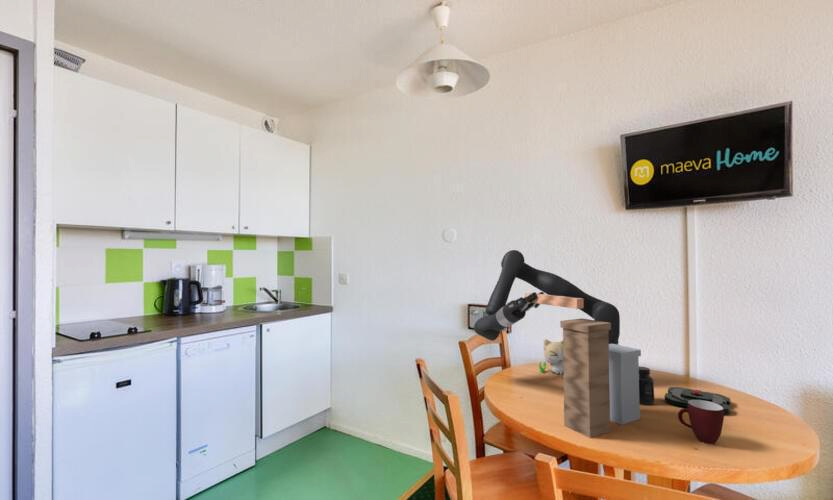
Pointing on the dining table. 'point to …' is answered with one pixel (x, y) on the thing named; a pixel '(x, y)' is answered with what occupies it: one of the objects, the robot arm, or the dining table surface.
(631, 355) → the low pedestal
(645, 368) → the supplement bottle
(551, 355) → the kitten
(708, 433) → the mug
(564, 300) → the terracotta bar
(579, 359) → the tall pedestal
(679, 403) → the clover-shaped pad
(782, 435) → the dining table surface
